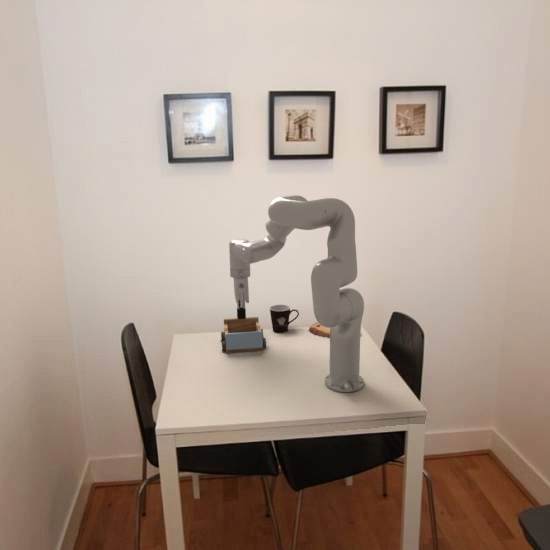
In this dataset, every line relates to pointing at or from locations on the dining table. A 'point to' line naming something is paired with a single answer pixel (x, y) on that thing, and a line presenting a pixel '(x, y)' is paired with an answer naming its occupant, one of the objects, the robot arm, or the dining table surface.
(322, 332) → the bread slice
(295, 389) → the dining table surface
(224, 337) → the truck bed
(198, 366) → the dining table surface
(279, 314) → the coffee mug
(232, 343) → the panel
